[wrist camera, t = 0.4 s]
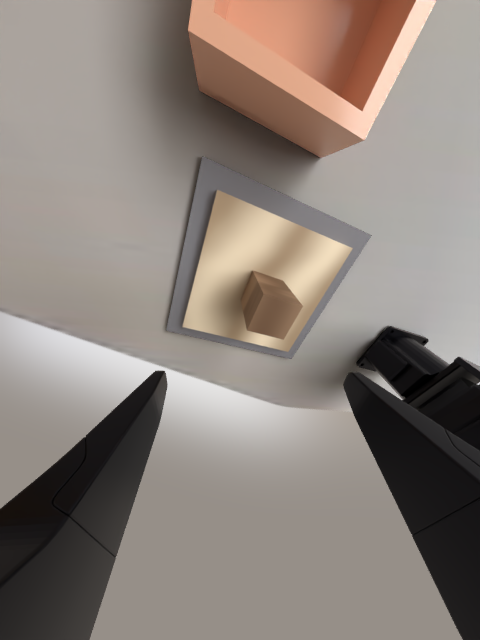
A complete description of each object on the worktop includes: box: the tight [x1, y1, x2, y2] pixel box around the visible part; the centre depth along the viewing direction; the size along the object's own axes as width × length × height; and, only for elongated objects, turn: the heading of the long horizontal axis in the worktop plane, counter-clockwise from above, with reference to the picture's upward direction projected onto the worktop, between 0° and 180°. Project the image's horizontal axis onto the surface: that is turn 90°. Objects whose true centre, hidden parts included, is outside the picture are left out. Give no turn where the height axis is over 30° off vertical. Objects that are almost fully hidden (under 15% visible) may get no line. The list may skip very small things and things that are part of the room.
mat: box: [166, 156, 372, 359], centre depth 19 cm, size 15×15×1 cm
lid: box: [182, 190, 353, 352], centre depth 16 cm, size 12×12×6 cm
